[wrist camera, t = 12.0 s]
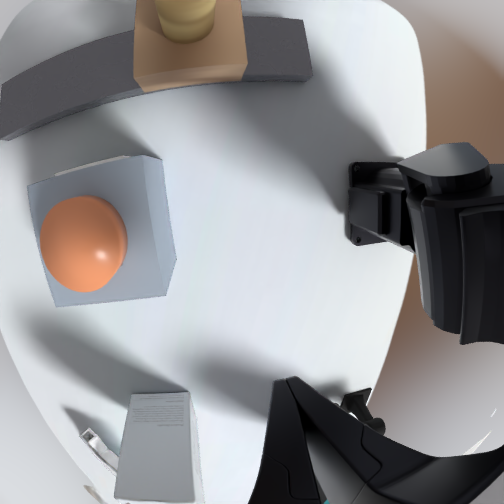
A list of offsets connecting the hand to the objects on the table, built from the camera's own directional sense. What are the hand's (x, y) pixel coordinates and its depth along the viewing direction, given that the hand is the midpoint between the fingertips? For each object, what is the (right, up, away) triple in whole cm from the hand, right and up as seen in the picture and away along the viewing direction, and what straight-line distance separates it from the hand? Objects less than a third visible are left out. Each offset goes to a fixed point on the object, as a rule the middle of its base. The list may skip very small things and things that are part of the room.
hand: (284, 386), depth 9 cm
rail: (-9, +18, +6) cm, 21 cm away
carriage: (-5, +18, +5) cm, 19 cm away
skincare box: (-10, -10, +14) cm, 20 cm away
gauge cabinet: (-10, +7, +9) cm, 15 cm away
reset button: (-10, +6, +5) cm, 12 cm away
